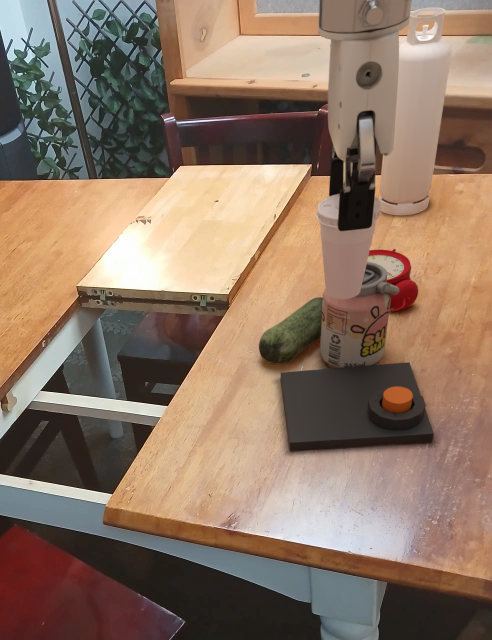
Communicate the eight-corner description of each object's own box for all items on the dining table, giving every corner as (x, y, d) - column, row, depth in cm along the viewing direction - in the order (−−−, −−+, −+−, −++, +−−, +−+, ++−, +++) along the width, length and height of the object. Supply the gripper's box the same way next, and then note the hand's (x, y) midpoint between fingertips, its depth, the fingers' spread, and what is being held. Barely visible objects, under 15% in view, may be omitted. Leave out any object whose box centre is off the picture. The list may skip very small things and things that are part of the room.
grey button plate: (408, 370, 93) (411, 351, 91) (432, 442, 84) (436, 422, 82) (280, 380, 96) (280, 361, 94) (289, 451, 87) (289, 432, 84)
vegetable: (282, 376, 97) (283, 344, 93) (251, 363, 100) (251, 331, 96) (344, 327, 102) (347, 295, 99) (313, 316, 105) (315, 284, 102)
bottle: (427, 192, 126) (455, 1, 106) (430, 214, 121) (460, 16, 101) (377, 195, 128) (396, 8, 108) (378, 216, 123) (398, 23, 103)
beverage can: (349, 328, 102) (356, 247, 93) (402, 349, 97) (415, 265, 88) (306, 359, 99) (309, 278, 90) (358, 382, 93) (366, 298, 85)
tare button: (408, 395, 86) (409, 385, 85) (413, 412, 84) (415, 402, 83) (379, 398, 87) (381, 387, 86) (384, 414, 85) (385, 404, 83)
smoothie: (359, 271, 84) (370, 143, 74) (383, 297, 79) (398, 165, 69) (304, 283, 84) (308, 157, 74) (326, 311, 79) (333, 180, 69)
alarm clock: (405, 242, 108) (431, 270, 96) (402, 284, 112) (427, 316, 99) (332, 250, 110) (349, 279, 98) (332, 292, 114) (348, 324, 101)
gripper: (433, 27, 56) (403, 248, 68) (392, -23, 68) (373, 173, 80) (331, 43, 57) (321, 257, 70) (308, -9, 69) (303, 182, 82)
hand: (349, 211), depth 75 cm, fingers closed on smoothie, 6 cm apart
